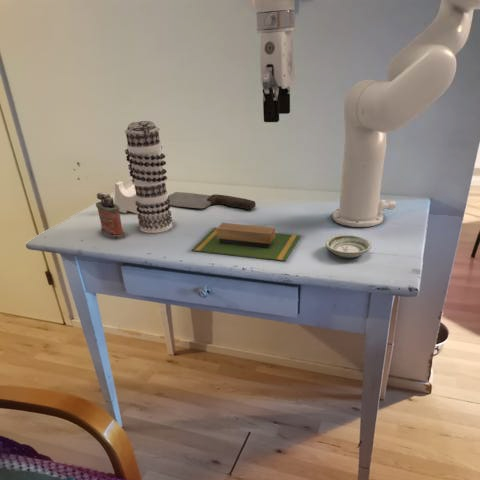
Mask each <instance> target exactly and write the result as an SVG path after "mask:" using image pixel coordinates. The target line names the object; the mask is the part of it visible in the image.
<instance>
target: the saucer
mask: <svg viewBox="0 0 480 480" xmlns="http://www.w3.org/2000/svg"><path fill="white" fill-rule="evenodd" d="M324 245H325V247H326V248H327V250H328V251H330V252H331V253H332V254H334V255H336V256H337V257H339V258H343V259H353V258H357V257H359V256H362V255H364V254H365V253H367V252H368V251H370V250H371V249H372V243H371V242H370V241H369V240H368V239H367V238H364V237H361V236H356V235H351V234H341V235H340V234H339V235H335V236H331V237H329V238H327V239H326V241H325V242H324Z"/></svg>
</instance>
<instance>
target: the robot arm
mask: <svg viewBox="0 0 480 480" xmlns="http://www.w3.org/2000/svg"><path fill="white" fill-rule="evenodd" d="M254 2H255V27H256V34H260V41H259V43H260V44H259V47H260V49H259V51H260V55H259V57H260V59H259V60H260V61H259V62H260V63H259V64H260V66H259V69H260V84H261V87H262V110H263V111H262V112H263V122H264V123H278V122H280V115H288V114H290V113H291V87H290V86H292V85H293V84H294V82H295V65H294V64H295V63H294V45H293V44H294V43H293V33H292V31H295V29H296V27H295V26H296V25H295V23H296V22H295V21H296V20H295V19H296V18H295V17H296V16H295V15H296V14H295V12H296V11H295V9H296V7H295V3H296V1H295V0H254ZM475 10H476V11H477V10H480V0H440V4H439V9H438V12H437V15H436V16H435V18H434V20H433V21H432V22H431V23H430V24H429V25H428V26H427V27H426V28H425V29H424V30H422V32H420V33H419V34H418V35H416V37H414V39H412V40H411V41H410V42H409V43H408V44H407V45H405V46H404V47H403V48H401V50H399V51H398V52H397V53H395V55H394V56H393V57H392V58H391V60H390V62H389V63H388V64H387V68H386V74H385V76H386V80H382V79H381V80H380V79H376V78H375V79H374V78H367V79H363V80H359V81H358V82H356V83H354V85H353V86H352V87H351V88H350V89H349V90H348V92H347V94H346V96H345V99H344V104H343V121H344V122H343V123H344V149H343V159H342V171H341V183H340V196H339V207H338V209H336V210H334V211H333V212H332V219H333V221H334V222H335V223H337V224H339V225H341V226H345V227H352V228H369V227H374V226H378V225H379V224H382V222H383V221H384V214H383V212H384V211H385V210H394V209H396V207H397V202H396V201H395V200H391V201H386V199H380V197H381V191H382V190H381V189H382V181H383V174H384V165H385V158H386V152H387V134H392V133H395V132H397V131H399V130H400V129H402V128H404V127H406V126H407V125H408V124H409V123H410V122H411V121H412V120H414V119H415V118H416V117H418V116H419V115H421V114H422V113H423V112H424V111H425V110H426V109H427V108H428V107H430V106H431V105H432V104H433V103H434V102H436V101H437V100H438V99H439V98H440V97H442V95H443V94H445V92H447V90H448V89H449V87H450V86H451V85H452V83H453V81H454V78H455V75H456V71H457V65H458V64H457V57H456V55H457V54H458V53H459V52H460V51H461V50H462V49H463V48H464V46H465V45H466V43H467V41H468V38H469V35H470V31H471V27H472V24H473V23H472V22H473V17H474V11H475Z"/></svg>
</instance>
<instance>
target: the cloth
mask: <svg viewBox="0 0 480 480" xmlns="http://www.w3.org/2000/svg"><path fill="white" fill-rule="evenodd" d="M217 228H218V227H213V229H212V230H210V232H209V233H207V234H206V235H205V237H203V238H202V239H201V240H200V241H199V242H198V243H197V244H196V245H195V246H194V247H193V248H192V249H191V252H196V253H197V252H198V253H205V254H206V253H207V254H217V255H225V256H233V257H243V258H250V259H258V260H259V259H260V260H267V261H268V260H271V261H277V262H278V261H279V262H286V261H287V260H288V258H289V256H290V255H291V253H292V251H293V250H294V248H295V246H296V244H297V243H298V241H299V240H300V238H301V235H300V234H299V235H297V234H288V233H287V234H286V233H276V232H275V238H274V240H273V243H272V244H271V246H270V247H269V248H262V247H253V246H243V245H233V244H224V243H220V241H219V239H218V238H217V232H216V229H217Z"/></svg>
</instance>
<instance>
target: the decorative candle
mask: <svg viewBox="0 0 480 480" xmlns="http://www.w3.org/2000/svg"><path fill="white" fill-rule="evenodd" d="M159 130H160V127H157V125H156V124H155V122H153V121H149V120H142V121H134V122H133V121H132V122H130V123H129V124H128V126H127V128H126V129H125V130H124V133H125V136H126V142H127V143H126V147H127V148H126V149H125V150H124V153H125V155H126V161H127V162H128V163H129V164H128V170H129V176H130V177H131V183H132V185H135V190H136V200H137V201H136V202H135V203H136V206H138V207H137V212H139V213H138V214H137V220H138V225H139V229H140V231H141V232H143V233H147V234H157V233H162V232H163V233H164V232H167V231H169V230H171V229H172V227H173V217H172V214H173V213H172V211H171V210H170V209H171V205H170V204H168V203H169V202H170V200H169V198H168V196H169V194H168V190H167V187H166V182H168V180H167V179H168V177H167V175H165V174H167V170H166V169H165V168H164V166H166V165H167V162H166V161H165V160H164V159H165V158H166V155H165V154H164V153H163V152H162V151H161V150H162V148H163V145H162V142H161V140H160V133H159V132H160V131H159Z"/></svg>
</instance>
